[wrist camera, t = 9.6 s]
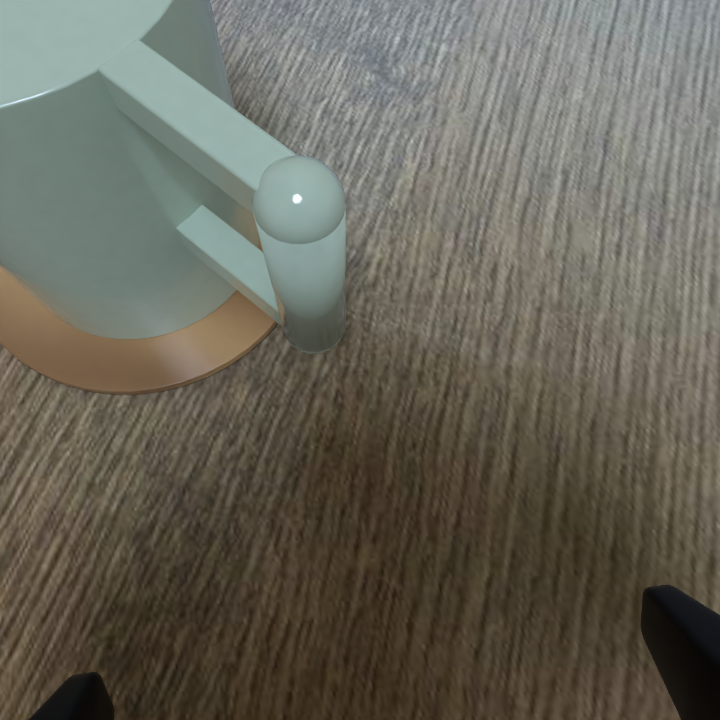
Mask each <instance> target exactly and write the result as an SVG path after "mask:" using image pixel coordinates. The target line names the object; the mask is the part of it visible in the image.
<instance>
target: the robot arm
mask: <svg viewBox="0 0 720 720" xmlns="http://www.w3.org/2000/svg"><path fill="white" fill-rule="evenodd" d="M641 630H642V635H643V638H644V640H645V642H646V645H647V647H648V649H649V651H650V653H651V655H652V658H653V660H654V662H655V664H656V666H657V668H658V670H659V673H660V675H661V677H662V679H663V681H664V683H665V685H666V688H667V690H668V692H669V694H670V696H671V698H672V701H673V703H674V705H675V707H676V709H677V711H678V713H679V716H680V718H681V720H720V615H719V614H717V613H715V612H714V611H712V610H711V609H709V608H707V607H706V606H704V605H703V604H701V603H699V602H698V601H696V600H695V599H693V598H691V597H690V596H688V595H687V594H685V593H683V592H682V591H680V590H679V589H677V588H675V587H673V586H671V585H660V586H654V587H648V588H646V589H645V590H644V592H643V598H642V613H641ZM29 720H114V707H113V703H112V701H111V699H110V696H109V694H108V691H107V689H106V687H105V684H104V682H103V680H102V677H101V676H100V674H98V673H97V672H90V673H83V674H77V675H73V676H71V677H70V678H68V679H67V680H66V681H65V682H64V683H63V684H62V685H61V686H60V687H59V688H58V689H57V690H56V692H55V693H54V694H53V695H52V696H51V697H50V698H49V699H48V700H47V701H46V702H45V703H44V704H43V705H42V706H41V707H40V708H39V709H38V710H37V711H36V712H35V713H34V714H33V716H32V717H31V718H30V719H29Z"/></svg>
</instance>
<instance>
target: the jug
mask: <svg viewBox="0 0 720 720" xmlns="http://www.w3.org/2000/svg"><path fill="white" fill-rule="evenodd" d="M260 241H261V245H262V249H263V252H262V251H261V250H260V249H259V248H258V247H259V242H260ZM0 268H1V269H2V270H3V271H4V272H5V273H6V274H7V275H8V276H10V277H11V278H12V279H13V280H14V281H15V282H16V283H18V284H19V285H20V286H21V287H22V288H23V289H24V290H25V291H27V292H28V293H29V294H30V295H31V296H32V297H33V298H35V299H36V300H37V301H38V302H39V303H40V304H41V305H43V306H44V307H45V308H46V309H47V310H48V311H49V312H51V313H52V314H53V315H54V316H56V317H57V318H58V319H60V320H61V321H63V322H64V323H66V324H68V325H70V326H71V327H73V328H76V329H78V330H81V331H83V332H86V333H88V334H92V335H96V336H100V337H105V338H114V339H143V338H151V337H156V336H160V335H165V334H169V333H172V332H175V331H177V330H180V329H183V328H186V327H188V326H190V325H192V324H194V323H196V322H198V321H200V320H201V319H203V318H204V317H206V316H207V315H209V314H210V313H212V312H214V311H215V310H216V309H217V308H218V307H220V306H221V305H222V304H223V303H224V302H226V301H227V300H228V299H229V298H230V296H231V295H232V294H233V293H234V292H235V291H236V290H238V291H239V292H240V293H242V294H243V295H244V296H245V297H247V298H248V299H249V300H250V301H251V302H253V303H254V304H255V305H256V306H257V307H259V308H260V309H261V310H262V311H264V312H265V313H266V314H267V315H268V316H270V317H271V318H272V319H273V320H275V321H276V322H277V323H278V324H279V325H281V326H282V328H283V332H284V334H285V336H286V338H287V340H288V341H289V343H290V344H291V345H292V346H293V347H295V348H296V349H298V350H299V351H302V352H304V353H308V354H320V353H324V352H327V351H329V350H330V349H332V348H333V347H334V346H335V345H336V344H338V342H339V341H340V340H341V338H342V336H343V333H344V329H345V271H346V201H345V195H344V190H343V187H342V185H341V183H340V181H339V179H338V177H337V176H336V174H335V173H334V172H333V171H332V170H331V169H330V168H329V167H328V166H327V165H326V164H325V163H323V162H321V161H320V160H318V159H315V158H313V157H309V156H304V155H296V154H295V153H294V152H293V151H291V150H290V149H288V148H287V147H286V146H284V145H283V144H282V143H280V142H279V141H278V140H276V139H275V138H273V137H272V136H271V135H269V134H268V133H267V132H265V131H264V130H262V129H261V128H260V127H258V126H257V125H256V124H254V123H253V122H251V121H250V120H249V119H247V118H246V117H245V116H243V115H242V114H241V113H239V112H238V111H236V109H235V105H234V100H233V96H232V92H231V88H230V83H229V79H228V75H227V71H226V66H225V62H224V58H223V54H222V49H221V45H220V41H219V37H218V32H217V28H216V24H215V20H214V15H213V11H212V7H211V3H210V0H0Z"/></svg>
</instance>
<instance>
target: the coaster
mask: <svg viewBox="0 0 720 720" xmlns="http://www.w3.org/2000/svg"><path fill="white" fill-rule="evenodd" d="M258 248H259V249H260V250H261V251H262V252H263V249H262V245H261V241H260V242H259V247H258ZM277 324H278V323H277V322H276V321H275V320H273V319H272V318H271V317H270V316H268V315H267V314H266V313H265V312H264V311H262V310H261V309H260V308H259V307H257V306H256V305H255V304H254V303H253V302H251V301H250V300H249V299H248V298H247V297H245V296H244V295H243V294H242V293H240V292H239V291H238V290H236V291H235V292H234V293H233V294H232V295H231V296H230V298H229V299H228V300H227V301H226V302H224V303H223V304H222V305H221V306H220V307H218V308H217V309H216V310H215V311H214V312H212V313H210V314H209V315H207V316H206V317H204V318H203V319H201V320H200V321H198V322H196V323H194V324H192V325H190V326H188V327H186V328H183V329H180V330H177V331H175V332H172V333H169V334H165V335H160V336H156V337H151V338H143V339H114V338H105V337H100V336H96V335H92V334H88V333H86V332H83V331H81V330H78V329H76V328H73V327H71V326H70V325H68V324H66V323H64V322H63V321H61V320H60V319H58V318H57V317H56V316H54V315H53V314H52V313H51V312H49V311H48V310H47V309H46V308H45V307H44V306H43V305H41V304H40V303H39V302H38V301H37V300H36V299H35V298H33V297H32V296H31V295H30V294H29V293H28V292H27V291H25V290H24V289H23V288H22V287H21V286H20V285H19V284H18V283H16V282H15V281H14V280H13V279H12V278H11V277H10V276H8V275H7V274H6V273H5V272H4V271H3V270H2V269H1V268H0V343H1V344H2V345H3V346H4V347H5V348H6V349H7V350H8V351H9V352H10V353H11V354H13V355H14V356H15V357H16V358H17V359H19V360H20V361H21V362H22V363H24V364H25V365H27V366H28V367H30V368H32V369H33V370H35V371H37V372H38V373H40V374H42V375H43V376H45V377H47V378H49V379H52V380H54V381H56V382H59V383H61V384H63V385H66V386H69V387H73V388H77V389H81V390H84V391H88V392H95V393H103V394H111V395H138V394H146V393H154V392H162V391H166V390H170V389H174V388H178V387H182V386H185V385H188V384H191V383H193V382H196V381H199V380H201V379H204V378H207V377H209V376H211V375H213V374H215V373H217V372H219V371H220V370H222V369H224V368H226V367H228V366H230V365H231V364H233V363H234V362H236V361H237V360H239V359H240V358H242V357H243V356H245V355H246V354H247V353H249V352H250V351H251V350H252V349H253V348H255V347H256V346H257V345H258V344H259V343H260V342H261V341H263V340H264V339H265V338H266V337H267V336H268V335H269V333H270V332H271V331H272V330H273V329H274V328H275V327H276V326H277Z"/></svg>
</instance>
